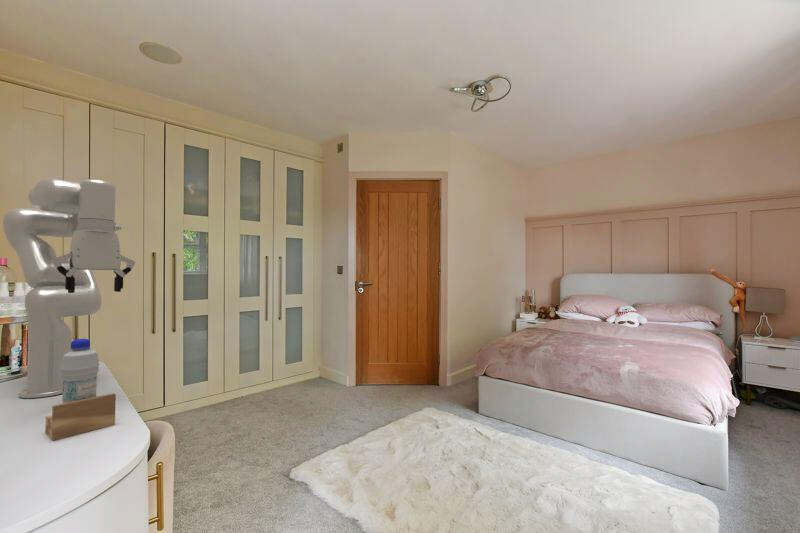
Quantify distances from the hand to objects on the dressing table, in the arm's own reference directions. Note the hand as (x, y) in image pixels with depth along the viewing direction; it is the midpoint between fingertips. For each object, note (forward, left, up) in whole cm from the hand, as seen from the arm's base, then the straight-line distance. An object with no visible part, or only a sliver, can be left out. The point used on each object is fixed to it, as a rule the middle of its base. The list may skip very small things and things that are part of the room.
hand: (95, 292), depth 97 cm
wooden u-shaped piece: (+15, -5, -30) cm, 34 cm away
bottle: (+13, -5, -31) cm, 34 cm away
